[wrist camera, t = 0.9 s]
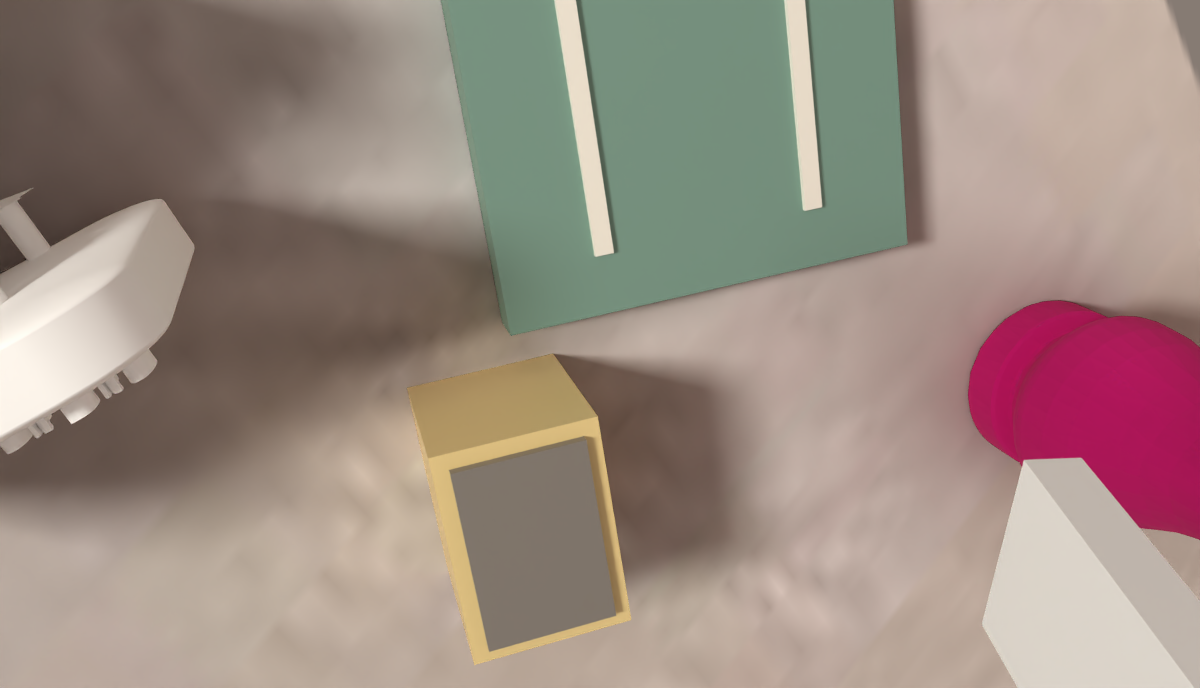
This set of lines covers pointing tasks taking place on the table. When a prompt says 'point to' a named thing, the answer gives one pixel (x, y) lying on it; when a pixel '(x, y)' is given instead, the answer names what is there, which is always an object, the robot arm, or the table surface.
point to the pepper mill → (1098, 404)
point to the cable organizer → (83, 312)
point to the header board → (674, 144)
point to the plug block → (521, 505)
